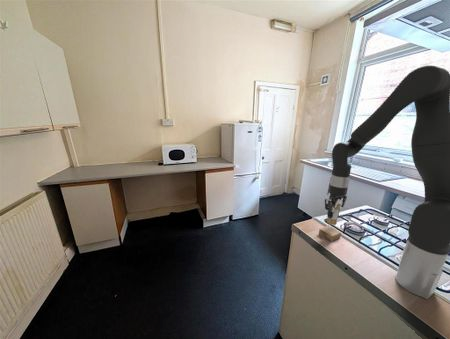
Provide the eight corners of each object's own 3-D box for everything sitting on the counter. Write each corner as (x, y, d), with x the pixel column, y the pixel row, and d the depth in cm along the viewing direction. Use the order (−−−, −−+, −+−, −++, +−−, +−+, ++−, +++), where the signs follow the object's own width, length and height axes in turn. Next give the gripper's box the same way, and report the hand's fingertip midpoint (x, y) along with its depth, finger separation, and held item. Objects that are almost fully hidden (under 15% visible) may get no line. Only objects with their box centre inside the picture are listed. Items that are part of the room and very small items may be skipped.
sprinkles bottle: (328, 219, 93) (332, 195, 90) (338, 223, 90) (342, 198, 86) (324, 222, 91) (328, 198, 87) (334, 226, 87) (339, 201, 83)
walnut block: (340, 237, 91) (341, 232, 90) (331, 241, 88) (332, 236, 87) (327, 230, 97) (328, 225, 96) (318, 233, 94) (319, 228, 93)
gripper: (336, 189, 78) (330, 223, 83) (356, 184, 84) (349, 216, 89) (321, 184, 85) (316, 216, 89) (340, 179, 91) (334, 209, 95)
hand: (332, 216), depth 89 cm, fingers closed on sprinkles bottle, 4 cm apart
